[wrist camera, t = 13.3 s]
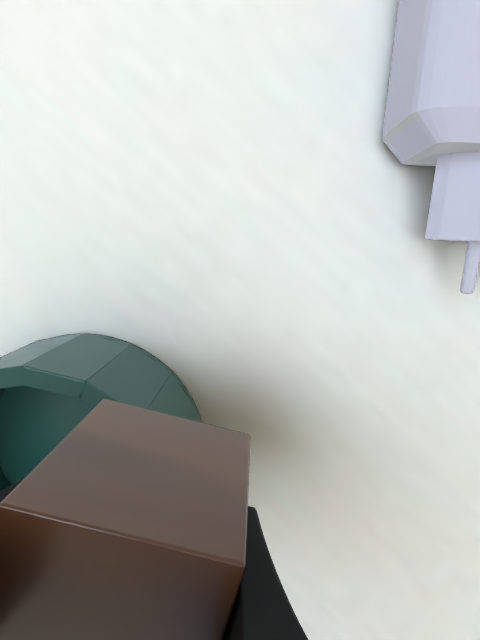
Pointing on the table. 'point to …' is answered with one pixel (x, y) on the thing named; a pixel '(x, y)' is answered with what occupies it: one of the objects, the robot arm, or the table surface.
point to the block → (127, 531)
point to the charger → (440, 114)
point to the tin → (75, 393)
